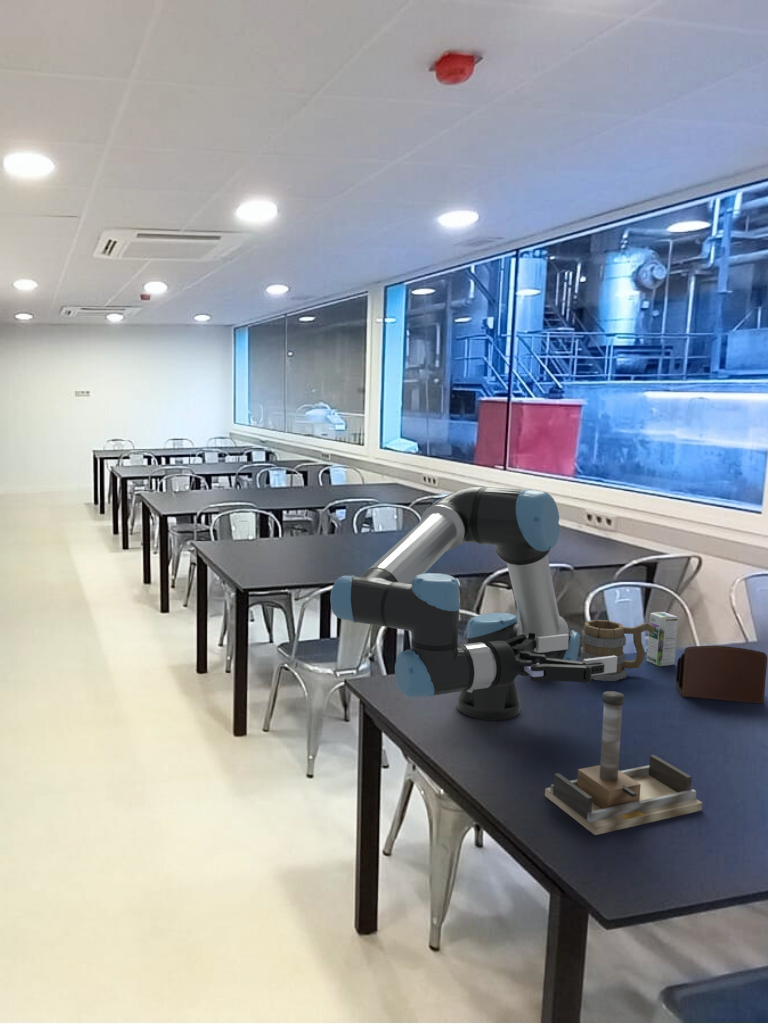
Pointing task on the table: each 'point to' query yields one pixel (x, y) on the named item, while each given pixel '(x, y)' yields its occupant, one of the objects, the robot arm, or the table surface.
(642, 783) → the press bed
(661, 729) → the table surface
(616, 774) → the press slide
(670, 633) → the syrup box
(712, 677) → the letter holder
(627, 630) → the tankard
